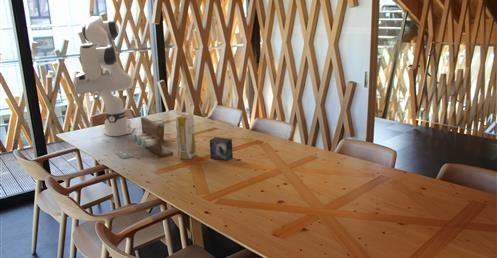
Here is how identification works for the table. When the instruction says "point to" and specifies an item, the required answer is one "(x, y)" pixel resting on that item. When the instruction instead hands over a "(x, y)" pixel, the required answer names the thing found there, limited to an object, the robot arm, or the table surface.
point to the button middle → (139, 139)
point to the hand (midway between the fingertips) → (96, 99)
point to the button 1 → (138, 136)
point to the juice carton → (185, 136)
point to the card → (124, 154)
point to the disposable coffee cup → (161, 128)
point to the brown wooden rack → (154, 132)
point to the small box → (221, 148)
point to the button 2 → (149, 142)
